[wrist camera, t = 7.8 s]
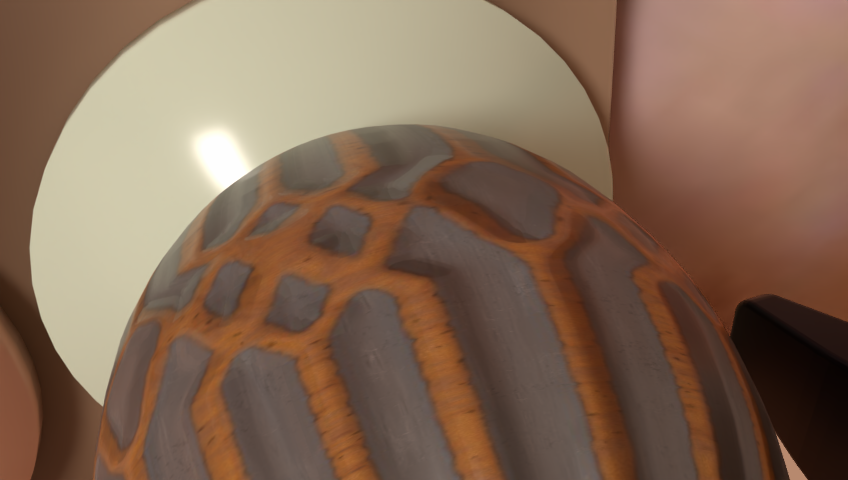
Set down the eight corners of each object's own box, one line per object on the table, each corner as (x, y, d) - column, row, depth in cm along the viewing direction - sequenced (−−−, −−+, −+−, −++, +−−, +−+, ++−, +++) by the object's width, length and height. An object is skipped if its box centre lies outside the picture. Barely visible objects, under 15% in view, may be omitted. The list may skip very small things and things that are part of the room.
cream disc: (608, -87, 9) (631, -81, 9) (587, 371, 15) (600, 391, 14) (-94, 33, 8) (-113, 48, 7) (155, 500, 13) (155, 527, 13)
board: (592, -217, 9) (629, -219, 9) (573, 385, 16) (592, 416, 15) (-1325, 38, 6) (-1551, 74, 5) (-345, 661, 13) (-381, 719, 12)
